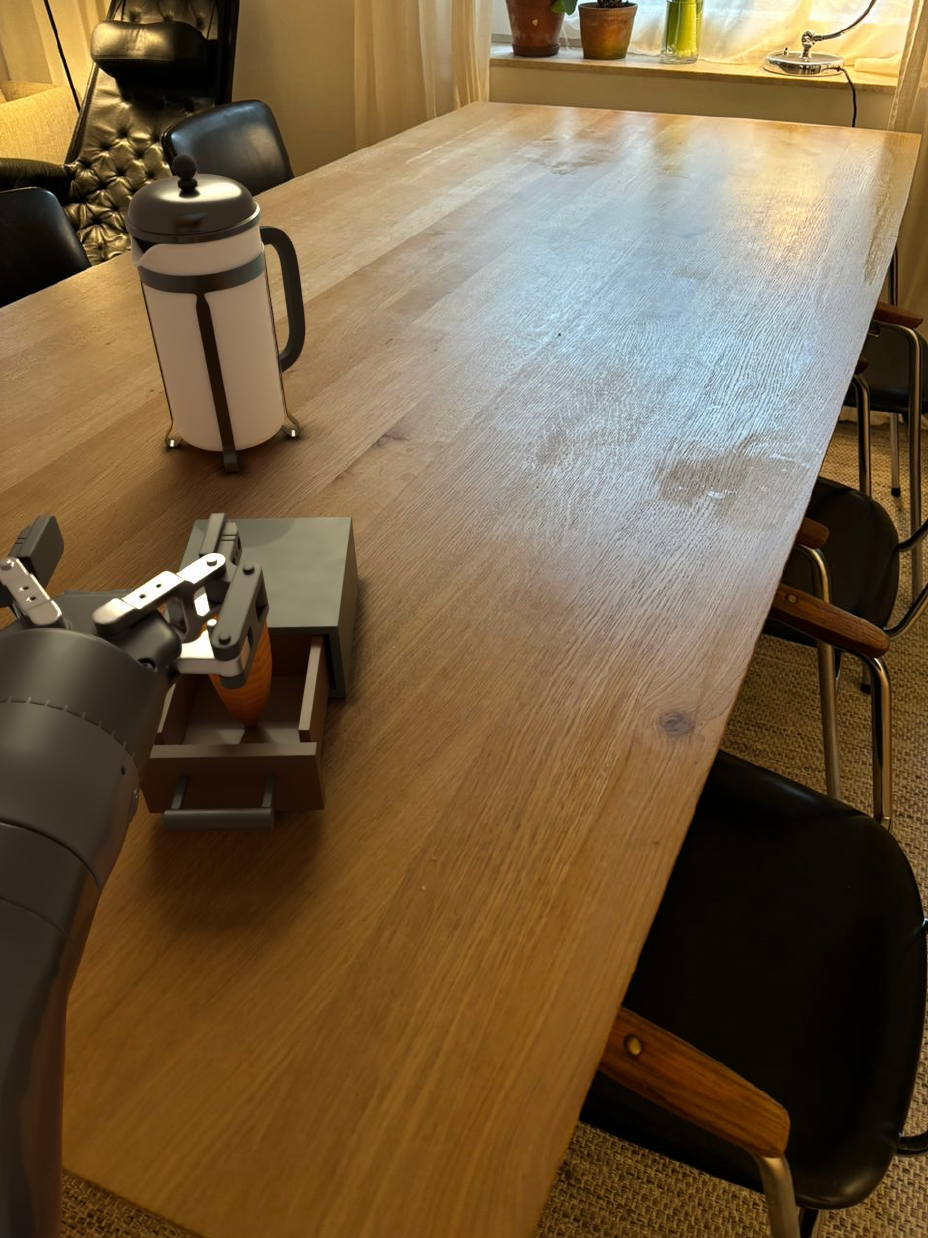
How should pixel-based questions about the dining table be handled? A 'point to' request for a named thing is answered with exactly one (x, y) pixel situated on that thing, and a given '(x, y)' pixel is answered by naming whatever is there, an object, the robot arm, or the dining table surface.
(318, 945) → the dining table surface
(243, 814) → the drawer
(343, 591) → the cabinet
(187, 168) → the coffee press
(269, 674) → the carrot
